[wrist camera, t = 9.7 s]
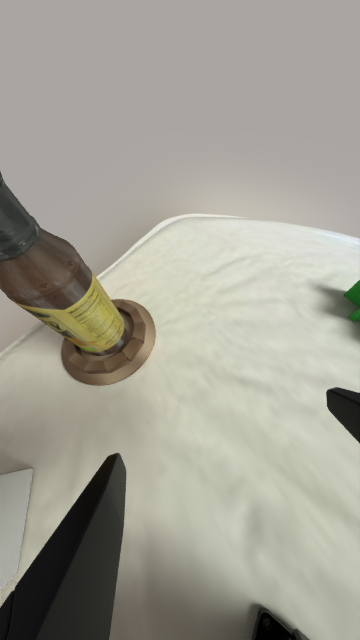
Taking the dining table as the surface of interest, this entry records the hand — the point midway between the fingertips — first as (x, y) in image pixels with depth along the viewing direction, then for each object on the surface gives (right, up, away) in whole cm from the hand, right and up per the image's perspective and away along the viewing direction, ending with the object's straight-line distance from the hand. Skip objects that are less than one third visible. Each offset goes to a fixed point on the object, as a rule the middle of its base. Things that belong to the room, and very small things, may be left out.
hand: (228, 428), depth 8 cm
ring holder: (-12, +2, +18) cm, 22 cm away
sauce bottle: (-12, +2, +18) cm, 22 cm away
